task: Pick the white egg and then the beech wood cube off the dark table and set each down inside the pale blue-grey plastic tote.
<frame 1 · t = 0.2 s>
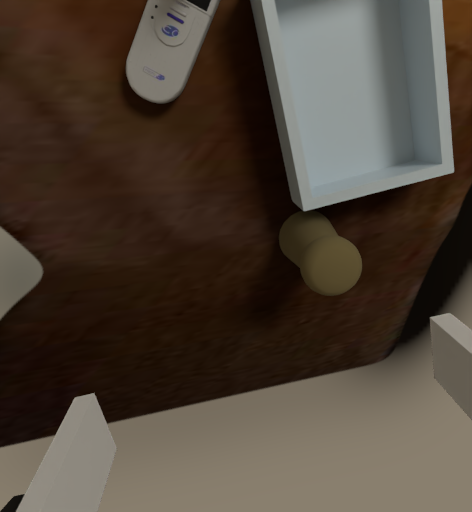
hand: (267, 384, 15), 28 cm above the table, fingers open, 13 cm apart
cork: (305, 236, 42), on the table
tote: (341, 83, 38), on the table
electronic device: (179, 22, 36), on the table
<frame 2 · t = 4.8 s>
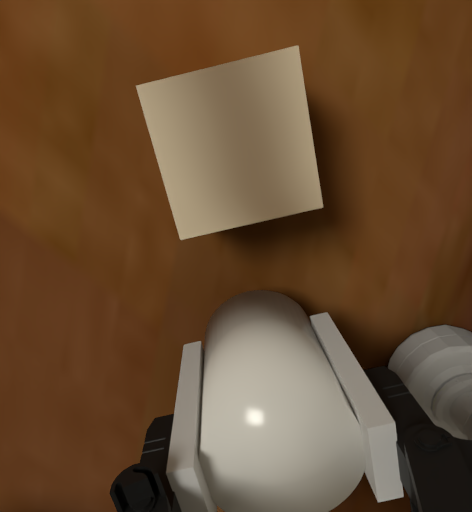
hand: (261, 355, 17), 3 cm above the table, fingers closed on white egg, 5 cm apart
white egg: (258, 339, 18), point 2 cm above the table, touching gripper
beech cube: (232, 142, 17), on the table
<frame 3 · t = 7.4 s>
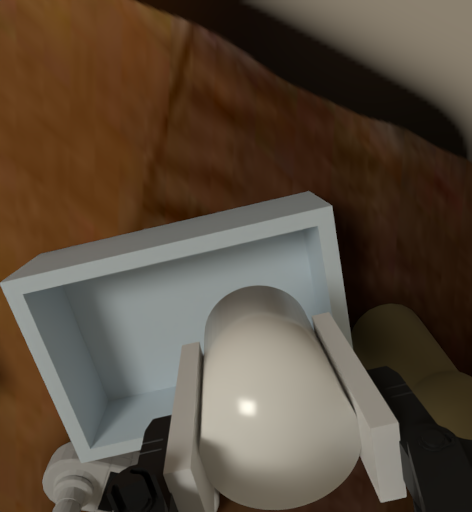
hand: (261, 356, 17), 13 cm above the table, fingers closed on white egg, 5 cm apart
white egg: (256, 333, 19), point 11 cm above the table, touching gripper
cork: (385, 335, 32), on the table
tote: (198, 308, 30), on the table
electronic device: (138, 469, 35), on the table
when the fingers open (2 cm above the table, at t = 9.8 s): white egg stays where it is, resting on tote.
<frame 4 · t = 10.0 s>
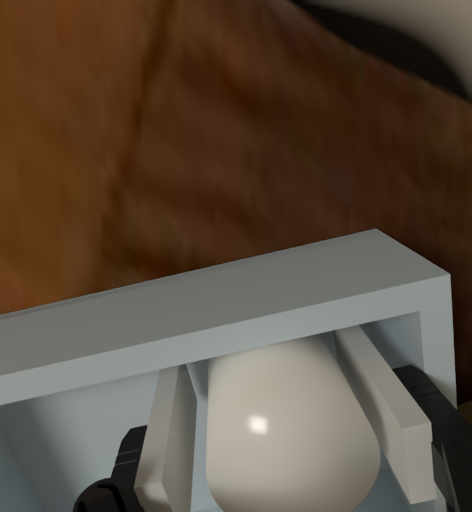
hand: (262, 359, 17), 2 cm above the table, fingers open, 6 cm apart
white egg: (264, 341, 18), point 1 cm above the table, touching tote
tote: (194, 406, 19), on the table
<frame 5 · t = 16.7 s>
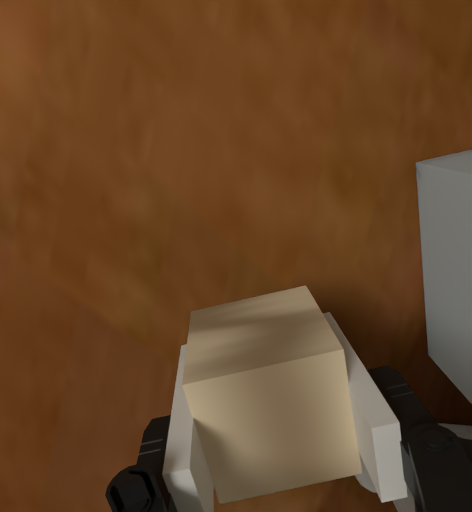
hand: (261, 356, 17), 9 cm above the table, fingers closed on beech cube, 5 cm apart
beech cube: (259, 348, 17), point 9 cm above the table, touching gripper
electronic device: (433, 443, 32), on the table
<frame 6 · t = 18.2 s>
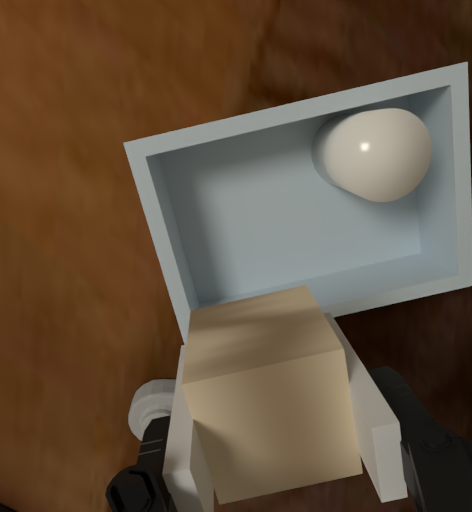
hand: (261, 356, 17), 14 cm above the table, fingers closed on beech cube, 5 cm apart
white egg: (345, 150, 28), point 1 cm above the table, touching tote
beech cube: (259, 348, 17), point 14 cm above the table, touching gripper
tote: (295, 203, 30), on the table
electronic device: (218, 401, 35), on the table
when the fingers open (2 cm above the table, at t = 20.2 s): beech cube drops 1 cm, resting on tote.
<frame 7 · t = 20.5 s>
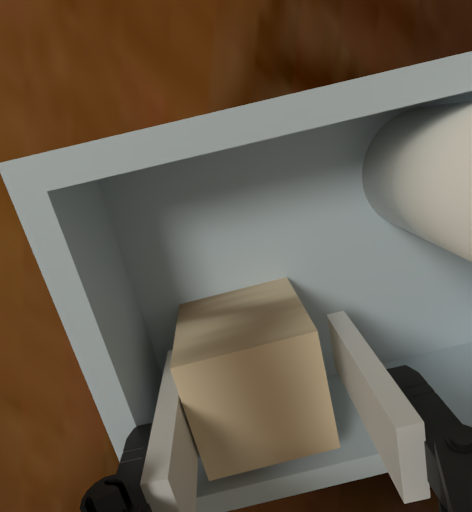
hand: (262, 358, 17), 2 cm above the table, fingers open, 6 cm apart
white egg: (419, 169, 16), point 1 cm above the table, touching tote
beech cube: (245, 338, 18), point 1 cm above the table, touching gripper, tote
tote: (331, 255, 18), on the table
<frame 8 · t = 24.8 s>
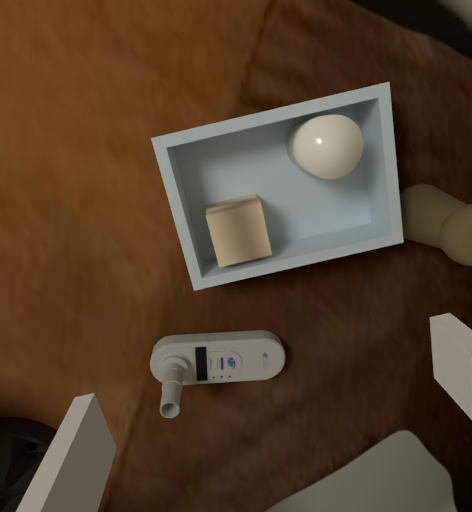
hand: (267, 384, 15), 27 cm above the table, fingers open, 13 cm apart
white egg: (311, 144, 38), point 1 cm above the table, touching tote
beech cube: (236, 223, 40), point 1 cm above the table, touching tote
cork: (417, 212, 41), on the table
tote: (275, 184, 39), on the table
electronic device: (218, 349, 45), on the table
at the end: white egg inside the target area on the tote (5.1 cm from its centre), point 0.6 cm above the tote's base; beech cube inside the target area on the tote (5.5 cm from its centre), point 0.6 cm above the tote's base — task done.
